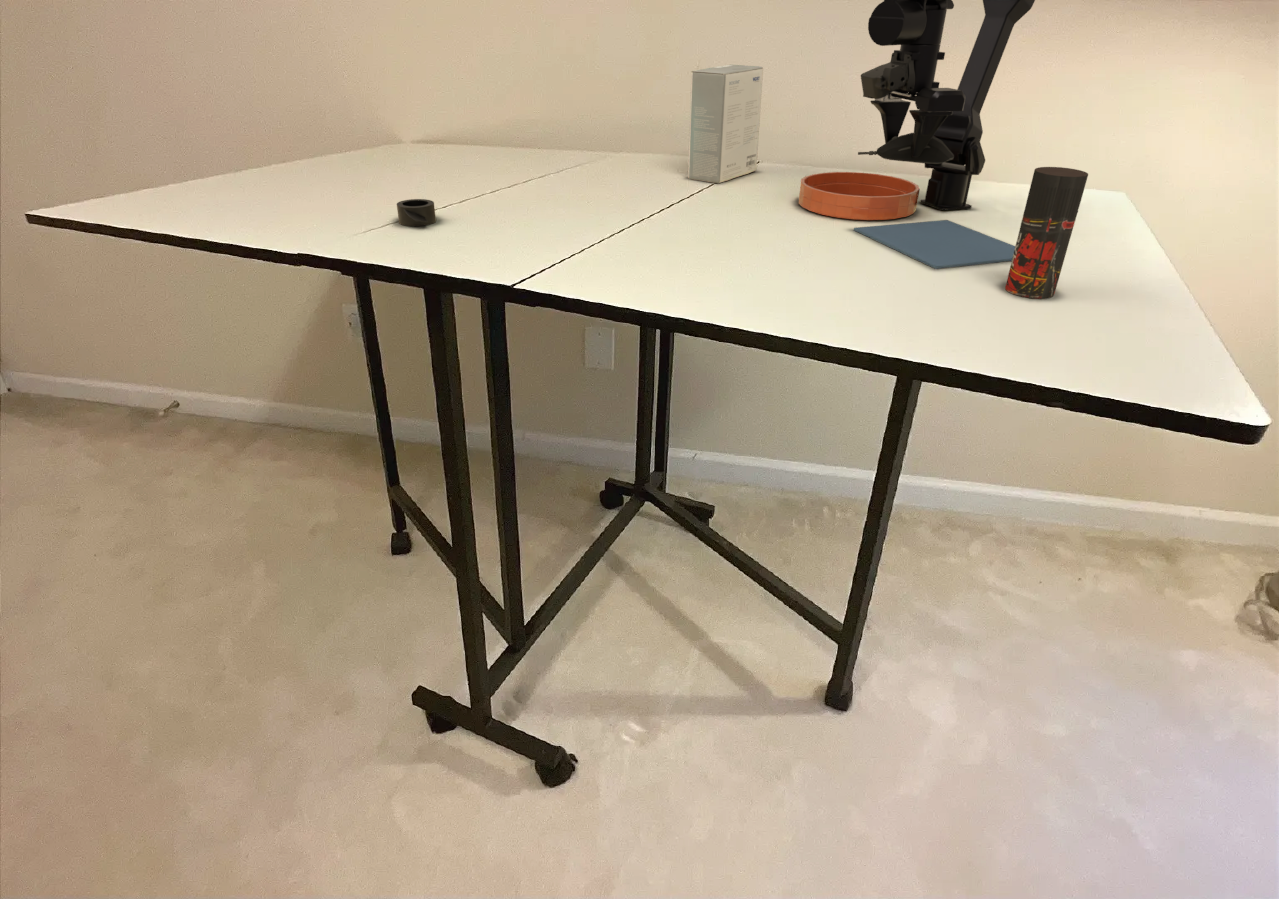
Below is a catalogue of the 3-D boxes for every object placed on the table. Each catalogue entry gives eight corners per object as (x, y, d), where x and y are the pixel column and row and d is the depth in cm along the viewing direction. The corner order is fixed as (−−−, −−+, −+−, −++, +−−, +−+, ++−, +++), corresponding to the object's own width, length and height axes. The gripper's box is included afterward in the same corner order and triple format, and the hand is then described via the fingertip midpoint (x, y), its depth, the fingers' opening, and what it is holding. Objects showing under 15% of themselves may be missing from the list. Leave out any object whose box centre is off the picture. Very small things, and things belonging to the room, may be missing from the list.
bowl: (872, 190, 154) (876, 169, 152) (939, 216, 138) (944, 192, 136) (778, 197, 149) (780, 175, 147) (836, 225, 132) (839, 200, 130)
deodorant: (996, 284, 107) (1025, 166, 100) (1039, 283, 108) (1071, 166, 100) (1018, 299, 102) (1050, 176, 95) (1063, 298, 103) (1098, 176, 95)
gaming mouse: (858, 150, 134) (862, 124, 132) (951, 157, 131) (957, 132, 129) (856, 158, 129) (861, 132, 127) (953, 167, 126) (959, 140, 124)
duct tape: (380, 227, 127) (377, 209, 125) (409, 212, 135) (407, 194, 134) (426, 231, 125) (423, 212, 124) (452, 215, 134) (450, 197, 132)
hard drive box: (725, 166, 172) (732, 63, 162) (757, 171, 169) (766, 66, 159) (686, 178, 161) (690, 69, 151) (718, 184, 158) (725, 72, 148)
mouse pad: (946, 222, 135) (947, 219, 135) (1038, 258, 118) (1039, 255, 118) (853, 230, 130) (853, 227, 130) (935, 268, 113) (936, 266, 112)
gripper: (841, 39, 127) (828, 144, 135) (910, 48, 111) (891, 166, 119) (902, 39, 130) (886, 142, 138) (978, 48, 114) (954, 162, 122)
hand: (902, 152), depth 129 cm, fingers closed on gaming mouse, 7 cm apart
